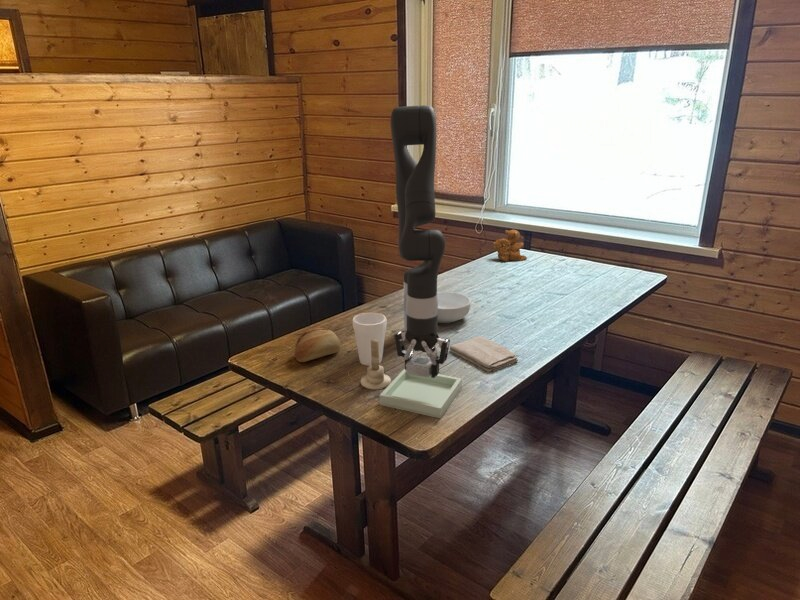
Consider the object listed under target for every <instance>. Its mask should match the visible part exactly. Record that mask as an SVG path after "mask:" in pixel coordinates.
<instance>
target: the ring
mask: <svg viewBox="0 0 800 600" xmlns="http://www.w3.org/2000/svg"><path fill="white" fill-rule="evenodd" d="M411 357H412V359H411V360H410V361H408V362H407V363H406V373H408V374H413V375H418V376H423V377H428V378H429V377H430V375H431V374H432V362H431V360H430V358H429V357H428V356H427V355H421V354H414V355H413V356H411Z"/></svg>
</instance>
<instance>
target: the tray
mask: <svg viewBox="0 0 800 600" xmlns="http://www.w3.org/2000/svg"><path fill="white" fill-rule="evenodd" d="M462 388H463V378H460V377H455V376H451V375H450V376H449V375H446V374H441V373H439V374H438V375H437V376H436V377H435V378H431V375H430V377H429V378H428V377H423V376H418V375H413V374H408V373H406V370H405V368H404V369H402V371H400V373H399V374H397V376H396V377H395V378H394V379H393V380H391V383H390V385H389V386H388V387H386V388H384V390H383V391H382V392H381V393H380V394H379V405H380V406H384V407H388V408H392V409H397V410H398V409H399V410H402V411H406V412H411V413H416V414H418V415H423V416H429V417H433V418H437V419H441V418H442V417H443V416H444V414H445V413H446V411H447V410H448V408H449V407H450V405H451V404H452V403H453V402H454V400H455V398H456V397H457V396H458V395H459V393H460V391H461V390H462Z"/></svg>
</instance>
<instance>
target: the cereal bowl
mask: <svg viewBox="0 0 800 600" xmlns="http://www.w3.org/2000/svg"><path fill="white" fill-rule="evenodd" d="M437 301H438V323H440V324H451V323H454V322H456V321H459V320H462V319H464V318H465V317H466V316H467V315H468V313H469V312H470V310H471V302H472V301H471V299H470V298H469V296H467V295H465V294H463V293H458V292H454V291H437Z"/></svg>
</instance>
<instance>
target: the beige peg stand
mask: <svg viewBox="0 0 800 600" xmlns="http://www.w3.org/2000/svg"><path fill="white" fill-rule="evenodd" d="M371 362H372V365H371V366H368V367H367V368H366V371H367V372H366V374H365V375H364V376H362V377H361V379H360V385H361V386H362V387H363V388H365V389H368V390H374V391H376V390H382V389H386V388H387V387H388V386H389V385H390V383H391V382H392V378H391V377H390V376H389V375H387V374H385V368H384V366H383V365H380V363H379V341H378V340H371Z"/></svg>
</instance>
